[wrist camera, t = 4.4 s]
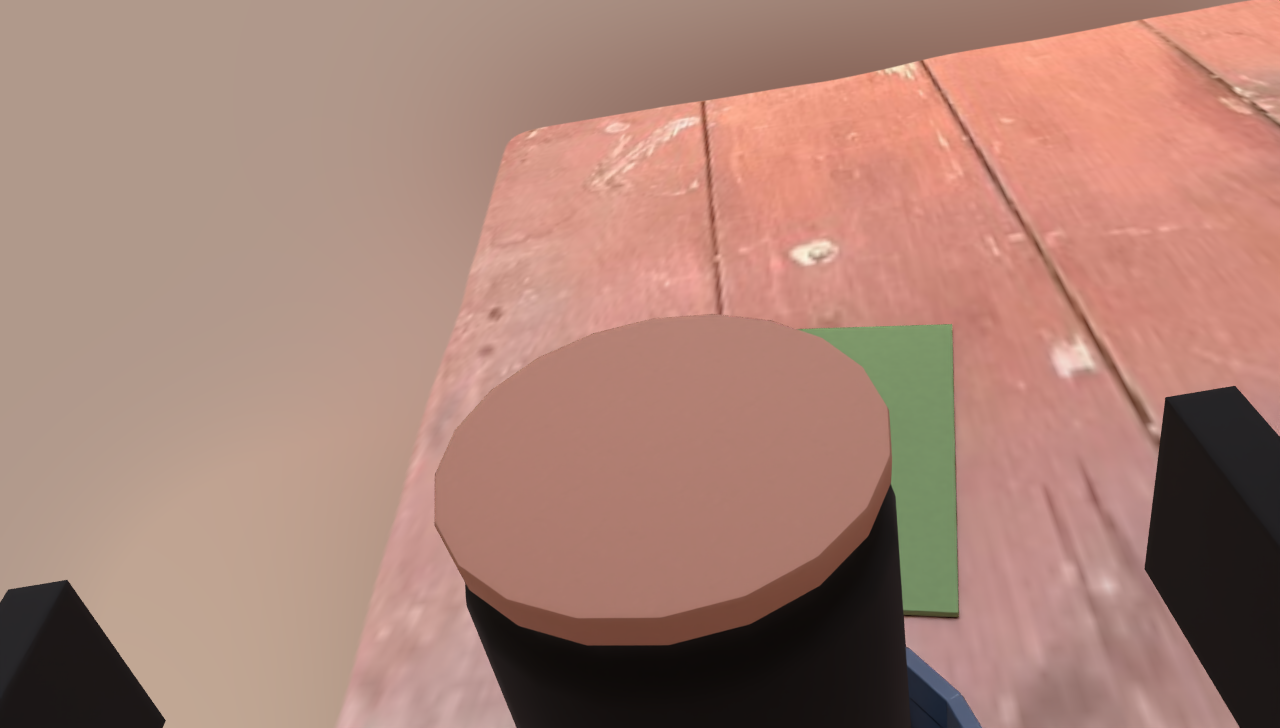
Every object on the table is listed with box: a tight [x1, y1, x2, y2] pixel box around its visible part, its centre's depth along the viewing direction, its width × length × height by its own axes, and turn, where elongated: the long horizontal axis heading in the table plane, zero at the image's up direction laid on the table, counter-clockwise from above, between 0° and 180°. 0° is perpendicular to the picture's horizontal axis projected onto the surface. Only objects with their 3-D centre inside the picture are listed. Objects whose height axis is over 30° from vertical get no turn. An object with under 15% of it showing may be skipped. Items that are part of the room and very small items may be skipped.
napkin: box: [797, 324, 959, 617], centre depth 52 cm, size 20×20×1 cm
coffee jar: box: [435, 314, 911, 728], centre depth 29 cm, size 11×11×18 cm
